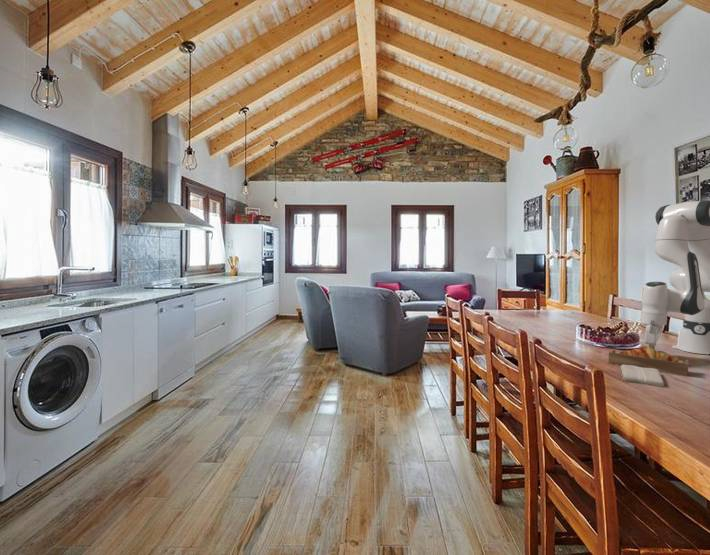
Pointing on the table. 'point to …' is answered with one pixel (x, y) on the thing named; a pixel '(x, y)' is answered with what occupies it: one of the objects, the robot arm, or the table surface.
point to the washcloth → (641, 375)
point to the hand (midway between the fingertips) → (652, 351)
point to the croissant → (651, 354)
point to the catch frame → (649, 363)
